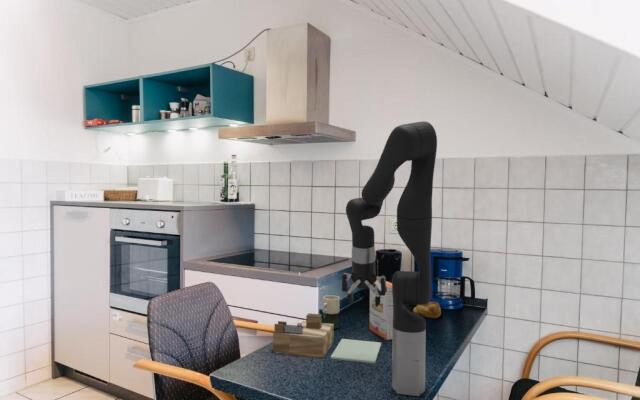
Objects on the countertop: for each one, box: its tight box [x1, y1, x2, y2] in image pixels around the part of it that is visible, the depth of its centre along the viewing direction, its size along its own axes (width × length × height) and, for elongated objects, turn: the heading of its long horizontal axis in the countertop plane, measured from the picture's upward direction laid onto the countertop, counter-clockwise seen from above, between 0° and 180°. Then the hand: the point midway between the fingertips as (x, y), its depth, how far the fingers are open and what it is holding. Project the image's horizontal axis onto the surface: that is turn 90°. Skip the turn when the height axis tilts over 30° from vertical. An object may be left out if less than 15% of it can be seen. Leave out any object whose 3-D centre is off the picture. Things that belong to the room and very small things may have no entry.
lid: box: [289, 313, 334, 340], centre depth 150 cm, size 16×12×6 cm
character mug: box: [322, 294, 341, 330], centre depth 174 cm, size 11×7×13 cm, turn 142°
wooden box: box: [272, 320, 335, 359], centre depth 150 cm, size 16×18×10 cm
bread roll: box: [412, 301, 442, 319], centre depth 194 cm, size 13×10×8 cm
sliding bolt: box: [283, 322, 303, 334], centre depth 145 cm, size 2×8×3 cm, turn 75°
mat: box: [330, 338, 382, 364], centre depth 148 cm, size 19×15×1 cm
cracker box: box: [369, 280, 393, 341], centre depth 166 cm, size 14×6×21 cm, turn 21°
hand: (364, 304), depth 137 cm, fingers open, 8 cm apart
